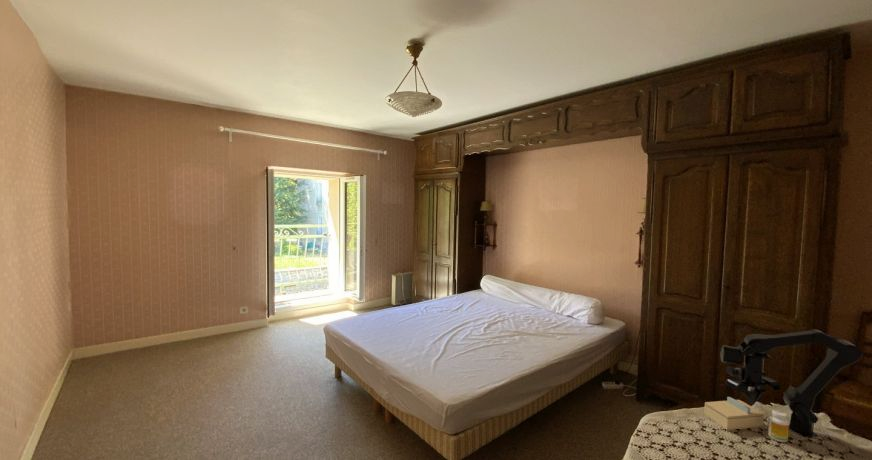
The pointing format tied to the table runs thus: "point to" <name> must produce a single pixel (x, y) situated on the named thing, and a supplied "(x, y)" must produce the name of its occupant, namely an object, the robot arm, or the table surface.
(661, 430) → the table surface
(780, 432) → the supplement bottle
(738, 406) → the lid
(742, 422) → the wooden box
